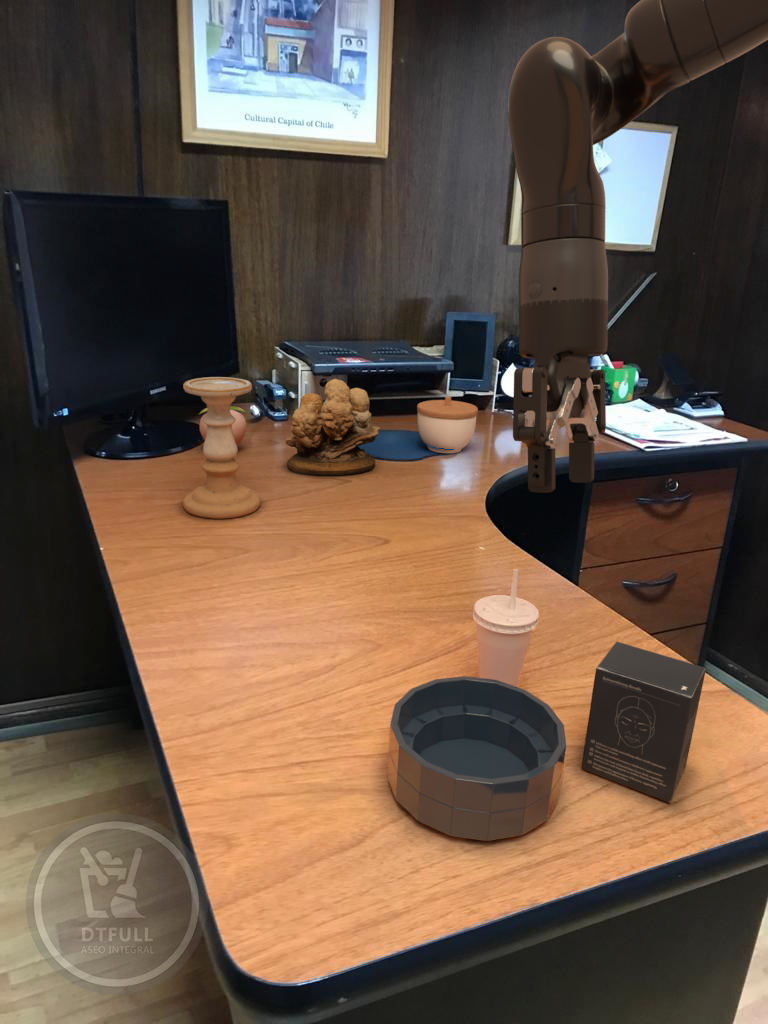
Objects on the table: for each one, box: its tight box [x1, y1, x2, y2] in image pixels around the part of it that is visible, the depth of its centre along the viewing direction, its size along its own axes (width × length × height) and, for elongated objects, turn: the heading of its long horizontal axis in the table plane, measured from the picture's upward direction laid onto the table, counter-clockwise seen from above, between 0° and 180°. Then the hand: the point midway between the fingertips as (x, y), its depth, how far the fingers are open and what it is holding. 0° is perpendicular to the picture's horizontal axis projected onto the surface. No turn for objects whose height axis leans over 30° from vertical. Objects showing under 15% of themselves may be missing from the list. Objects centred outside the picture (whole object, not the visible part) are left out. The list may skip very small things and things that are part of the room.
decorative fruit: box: [198, 405, 248, 445], centre depth 153 cm, size 9×8×10 cm
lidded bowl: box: [416, 396, 479, 454], centre depth 162 cm, size 13×13×11 cm
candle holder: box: [182, 376, 261, 520], centre depth 122 cm, size 12×12×20 cm
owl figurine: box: [285, 378, 381, 477], centre depth 145 cm, size 18×12×17 cm, turn 106°
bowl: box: [386, 675, 567, 842], centre depth 65 cm, size 14×14×6 cm
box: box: [581, 641, 707, 803], centre depth 67 cm, size 8×6×11 cm
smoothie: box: [472, 568, 540, 687], centre depth 76 cm, size 6×6×14 cm
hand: (562, 486), depth 69 cm, fingers open, 8 cm apart
